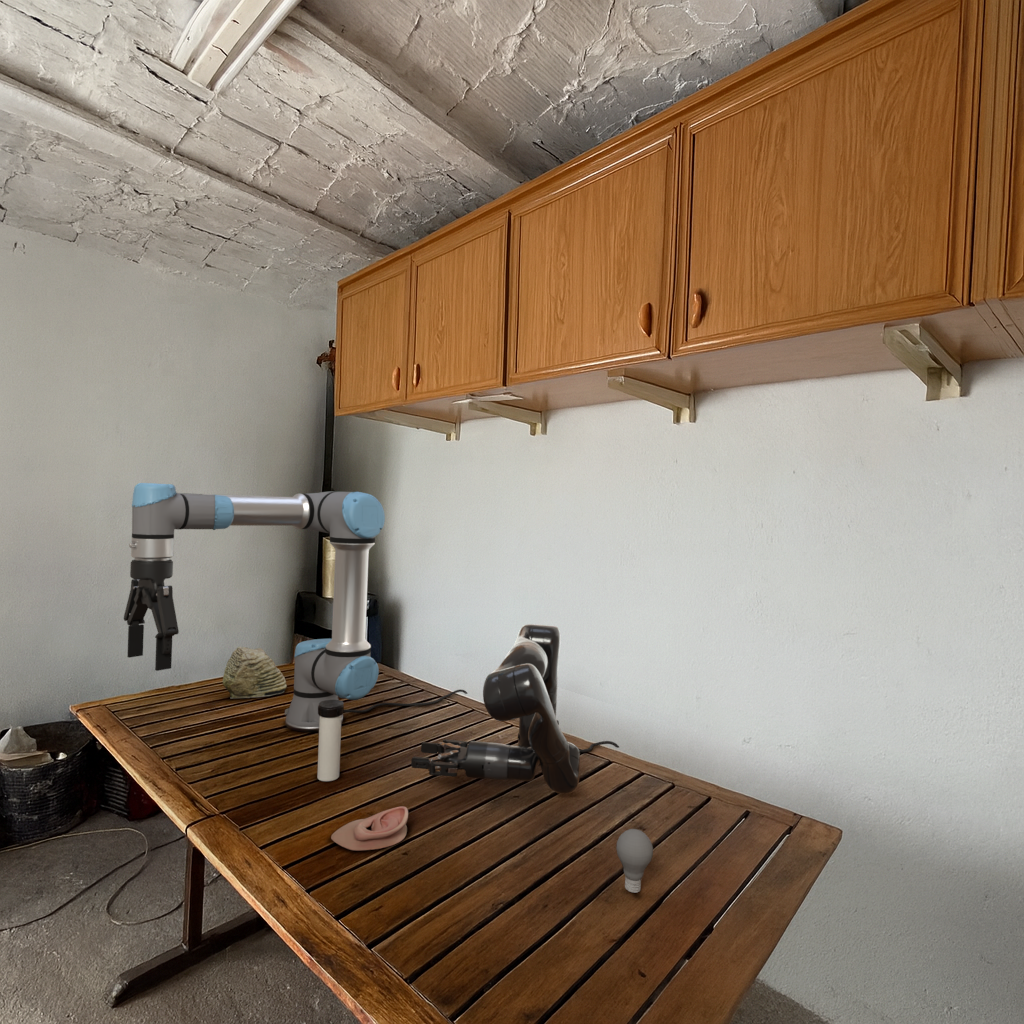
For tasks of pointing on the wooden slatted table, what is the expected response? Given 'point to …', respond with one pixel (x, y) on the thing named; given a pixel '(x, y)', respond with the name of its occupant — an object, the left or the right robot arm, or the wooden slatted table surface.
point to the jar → (329, 748)
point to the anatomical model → (374, 830)
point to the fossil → (252, 674)
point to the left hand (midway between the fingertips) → (148, 662)
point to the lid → (331, 708)
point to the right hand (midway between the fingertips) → (416, 754)
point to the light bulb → (634, 857)
